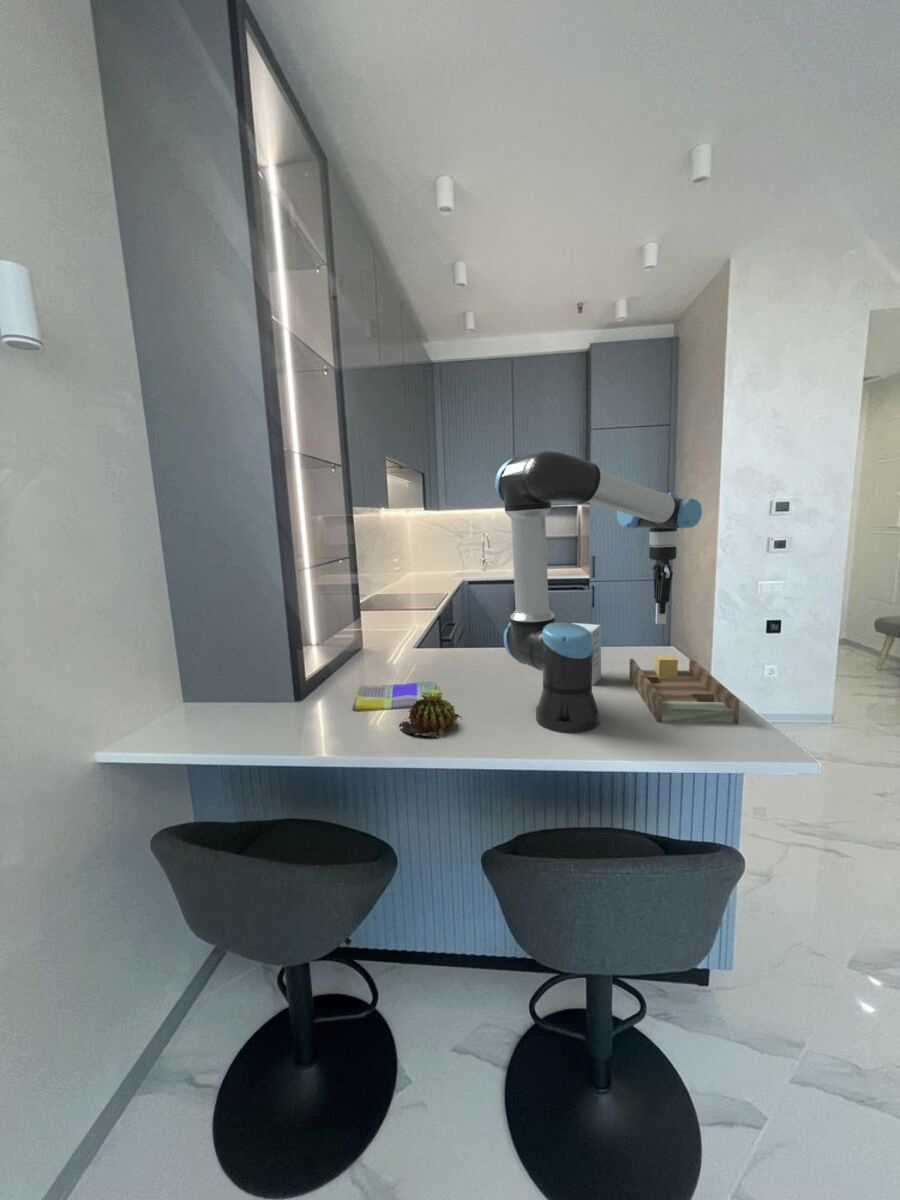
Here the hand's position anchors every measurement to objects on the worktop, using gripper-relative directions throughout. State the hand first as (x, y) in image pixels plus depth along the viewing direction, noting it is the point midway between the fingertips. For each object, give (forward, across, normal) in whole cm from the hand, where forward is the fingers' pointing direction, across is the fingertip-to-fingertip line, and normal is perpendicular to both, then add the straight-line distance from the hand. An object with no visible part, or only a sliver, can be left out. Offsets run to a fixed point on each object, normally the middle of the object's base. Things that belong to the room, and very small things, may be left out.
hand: (660, 623), depth 153 cm
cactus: (+16, -42, +64) cm, 78 cm away
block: (+13, -8, 0) cm, 16 cm away
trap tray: (+16, -21, +1) cm, 27 cm away
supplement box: (+16, -6, +24) cm, 30 cm away
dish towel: (+16, -24, +78) cm, 83 cm away
